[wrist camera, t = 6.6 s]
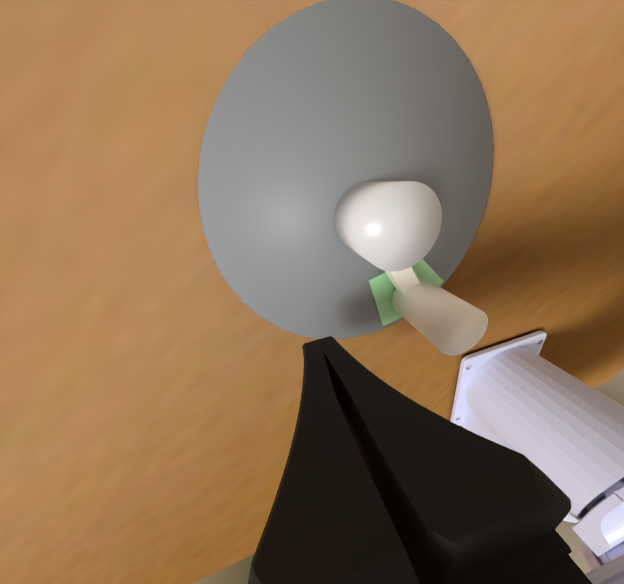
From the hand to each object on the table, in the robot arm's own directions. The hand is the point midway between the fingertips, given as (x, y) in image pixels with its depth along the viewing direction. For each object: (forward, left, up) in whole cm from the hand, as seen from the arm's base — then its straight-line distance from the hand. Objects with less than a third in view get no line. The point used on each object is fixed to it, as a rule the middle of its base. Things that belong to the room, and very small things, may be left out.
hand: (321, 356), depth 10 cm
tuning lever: (+3, -5, -2) cm, 6 cm away
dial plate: (+5, -4, -4) cm, 7 cm away
